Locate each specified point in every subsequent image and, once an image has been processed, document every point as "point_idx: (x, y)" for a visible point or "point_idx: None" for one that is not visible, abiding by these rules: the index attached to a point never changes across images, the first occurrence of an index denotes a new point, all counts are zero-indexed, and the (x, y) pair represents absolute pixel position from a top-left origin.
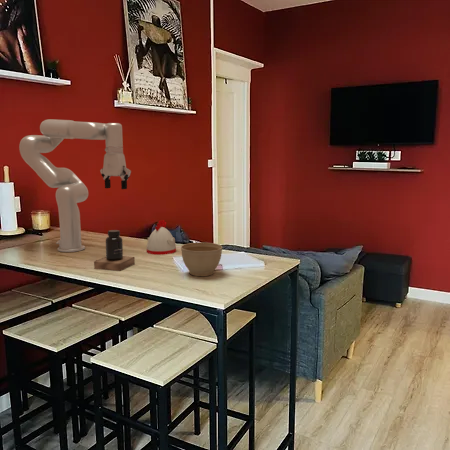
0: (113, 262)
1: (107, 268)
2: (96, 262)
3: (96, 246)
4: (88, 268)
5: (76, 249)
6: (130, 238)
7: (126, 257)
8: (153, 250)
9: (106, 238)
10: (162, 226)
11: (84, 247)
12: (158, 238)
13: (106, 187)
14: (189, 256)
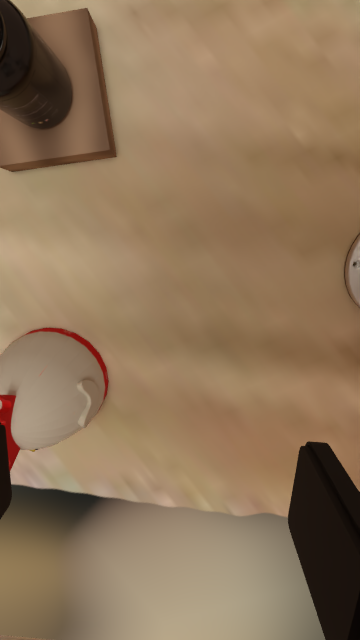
0: None
1: None
2: (76, 12)
3: (333, 353)
4: (120, 19)
5: (357, 242)
6: None
7: (18, 143)
8: (44, 332)
9: (7, 2)
10: None
11: (350, 291)
12: (7, 363)
13: (304, 453)
14: None
